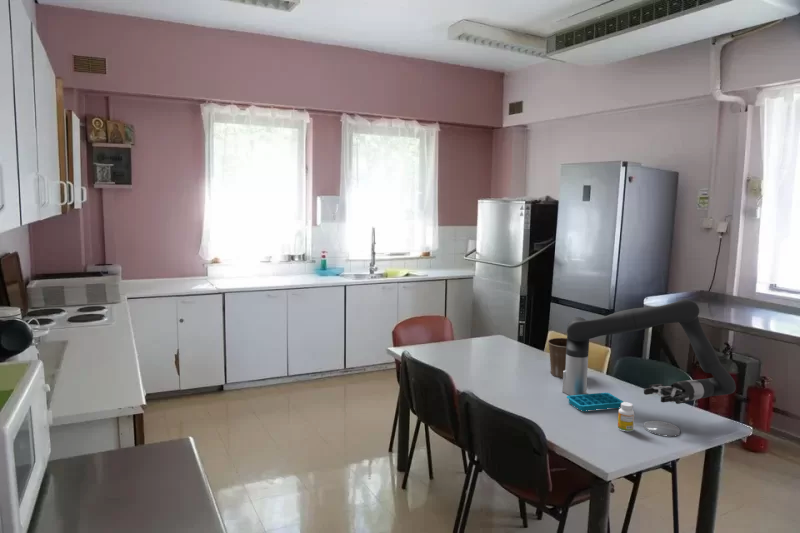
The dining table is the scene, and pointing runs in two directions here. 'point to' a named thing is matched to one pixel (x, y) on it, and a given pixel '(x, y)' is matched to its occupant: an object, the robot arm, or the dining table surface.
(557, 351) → the plant pot
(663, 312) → the robot arm
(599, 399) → the ice cube tray
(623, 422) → the supplement bottle
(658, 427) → the coaster
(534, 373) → the dining table surface
